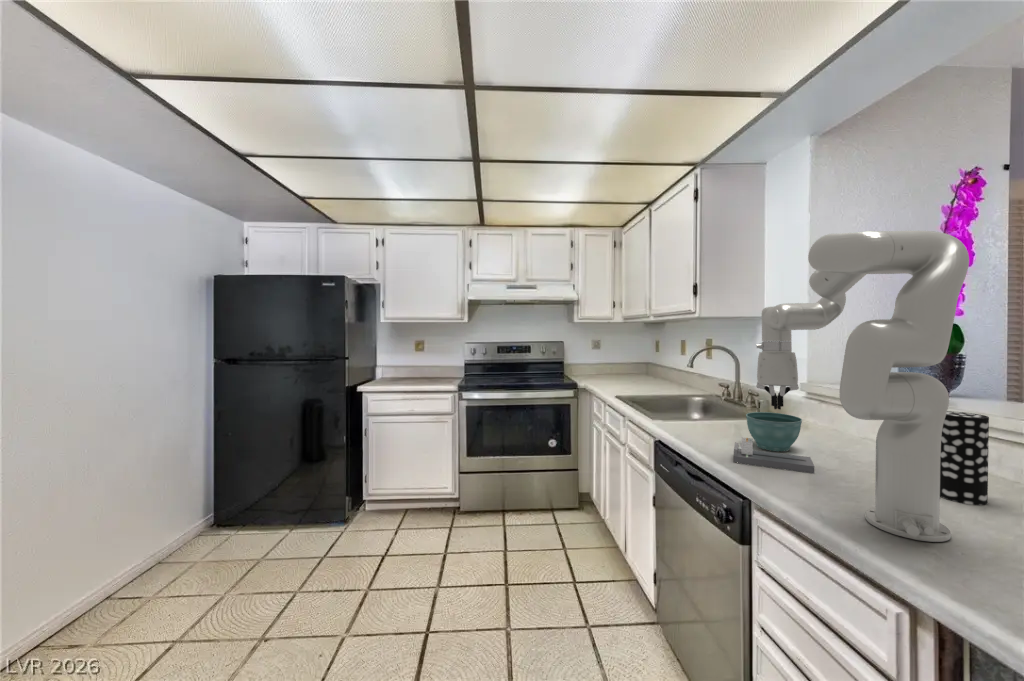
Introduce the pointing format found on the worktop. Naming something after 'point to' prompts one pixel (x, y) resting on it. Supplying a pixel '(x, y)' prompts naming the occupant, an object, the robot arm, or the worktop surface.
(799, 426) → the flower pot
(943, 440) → the white-spotted black cylinder
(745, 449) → the fader knob
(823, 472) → the worktop surface
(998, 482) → the worktop surface
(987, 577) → the worktop surface
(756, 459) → the fader console
